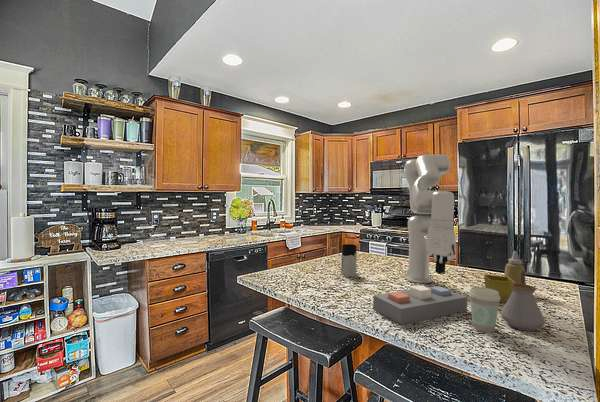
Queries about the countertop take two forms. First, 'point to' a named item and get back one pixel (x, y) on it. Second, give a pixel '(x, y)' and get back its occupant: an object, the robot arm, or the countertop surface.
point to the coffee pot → (522, 307)
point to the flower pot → (500, 285)
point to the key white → (420, 292)
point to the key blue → (440, 291)
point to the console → (419, 306)
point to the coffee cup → (484, 308)
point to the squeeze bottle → (514, 268)
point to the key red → (398, 297)
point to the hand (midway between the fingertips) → (440, 272)
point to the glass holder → (348, 260)
